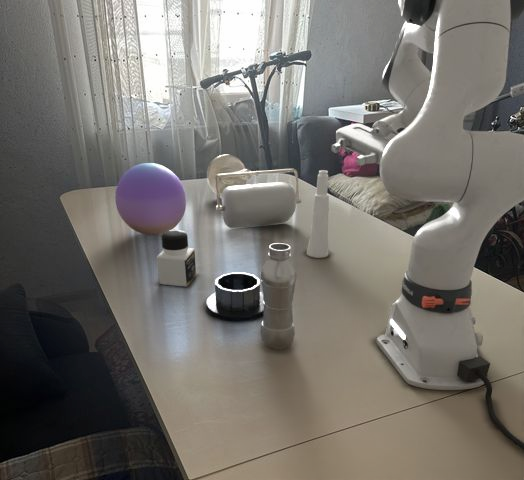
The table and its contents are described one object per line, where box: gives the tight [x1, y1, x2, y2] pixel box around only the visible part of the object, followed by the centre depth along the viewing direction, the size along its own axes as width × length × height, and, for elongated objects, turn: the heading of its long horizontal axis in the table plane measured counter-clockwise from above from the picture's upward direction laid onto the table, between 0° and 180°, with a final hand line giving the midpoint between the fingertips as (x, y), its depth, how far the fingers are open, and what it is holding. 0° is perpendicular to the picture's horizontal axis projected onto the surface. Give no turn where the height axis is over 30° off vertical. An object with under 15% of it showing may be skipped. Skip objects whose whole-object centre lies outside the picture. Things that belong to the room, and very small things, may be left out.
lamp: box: [206, 154, 302, 229], centre depth 167 cm, size 27×23×40 cm
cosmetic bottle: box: [306, 169, 330, 259], centre depth 134 cm, size 6×6×22 cm
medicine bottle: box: [156, 229, 197, 288], centre depth 122 cm, size 7×7×12 cm
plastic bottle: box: [259, 242, 298, 350], centre depth 95 cm, size 6×7×20 cm
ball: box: [114, 162, 187, 237], centre depth 147 cm, size 20×20×20 cm
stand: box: [205, 272, 264, 323], centre depth 112 cm, size 14×14×6 cm
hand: (345, 155), depth 128 cm, fingers open, 8 cm apart
